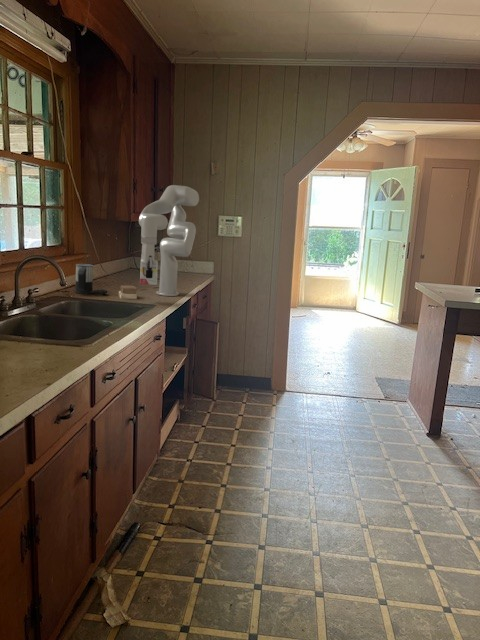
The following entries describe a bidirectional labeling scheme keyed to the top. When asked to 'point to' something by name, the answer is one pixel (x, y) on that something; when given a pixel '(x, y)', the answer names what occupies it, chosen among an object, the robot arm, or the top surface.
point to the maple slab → (127, 296)
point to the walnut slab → (128, 289)
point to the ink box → (143, 273)
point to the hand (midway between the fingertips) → (147, 276)
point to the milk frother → (85, 279)
